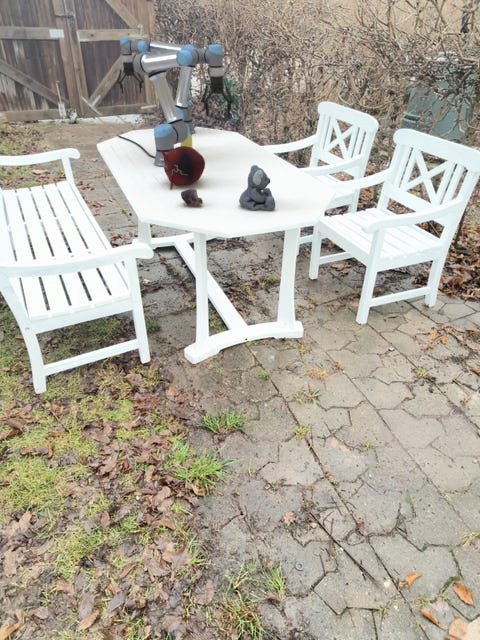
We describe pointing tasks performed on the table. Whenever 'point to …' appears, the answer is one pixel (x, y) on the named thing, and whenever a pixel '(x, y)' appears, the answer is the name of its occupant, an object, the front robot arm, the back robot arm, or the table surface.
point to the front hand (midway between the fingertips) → (218, 115)
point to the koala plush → (257, 191)
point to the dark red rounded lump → (183, 165)
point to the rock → (191, 197)
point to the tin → (187, 142)
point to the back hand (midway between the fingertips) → (131, 93)
